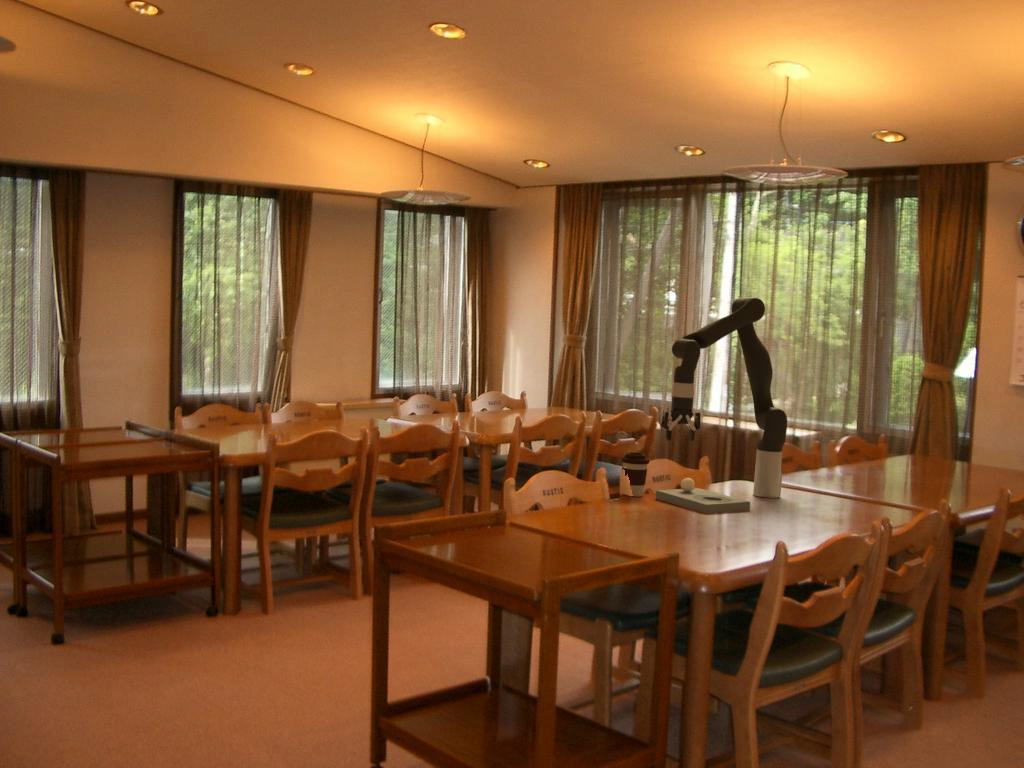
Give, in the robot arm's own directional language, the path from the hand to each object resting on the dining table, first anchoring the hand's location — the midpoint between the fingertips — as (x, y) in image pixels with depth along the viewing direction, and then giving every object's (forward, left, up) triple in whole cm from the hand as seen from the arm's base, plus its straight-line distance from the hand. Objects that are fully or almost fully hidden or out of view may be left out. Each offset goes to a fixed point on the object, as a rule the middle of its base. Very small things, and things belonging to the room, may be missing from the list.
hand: (679, 440), depth 371 cm
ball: (-2, +4, -15) cm, 16 cm away
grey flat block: (-2, +12, -21) cm, 24 cm away
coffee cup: (+12, -9, -21) cm, 26 cm away
